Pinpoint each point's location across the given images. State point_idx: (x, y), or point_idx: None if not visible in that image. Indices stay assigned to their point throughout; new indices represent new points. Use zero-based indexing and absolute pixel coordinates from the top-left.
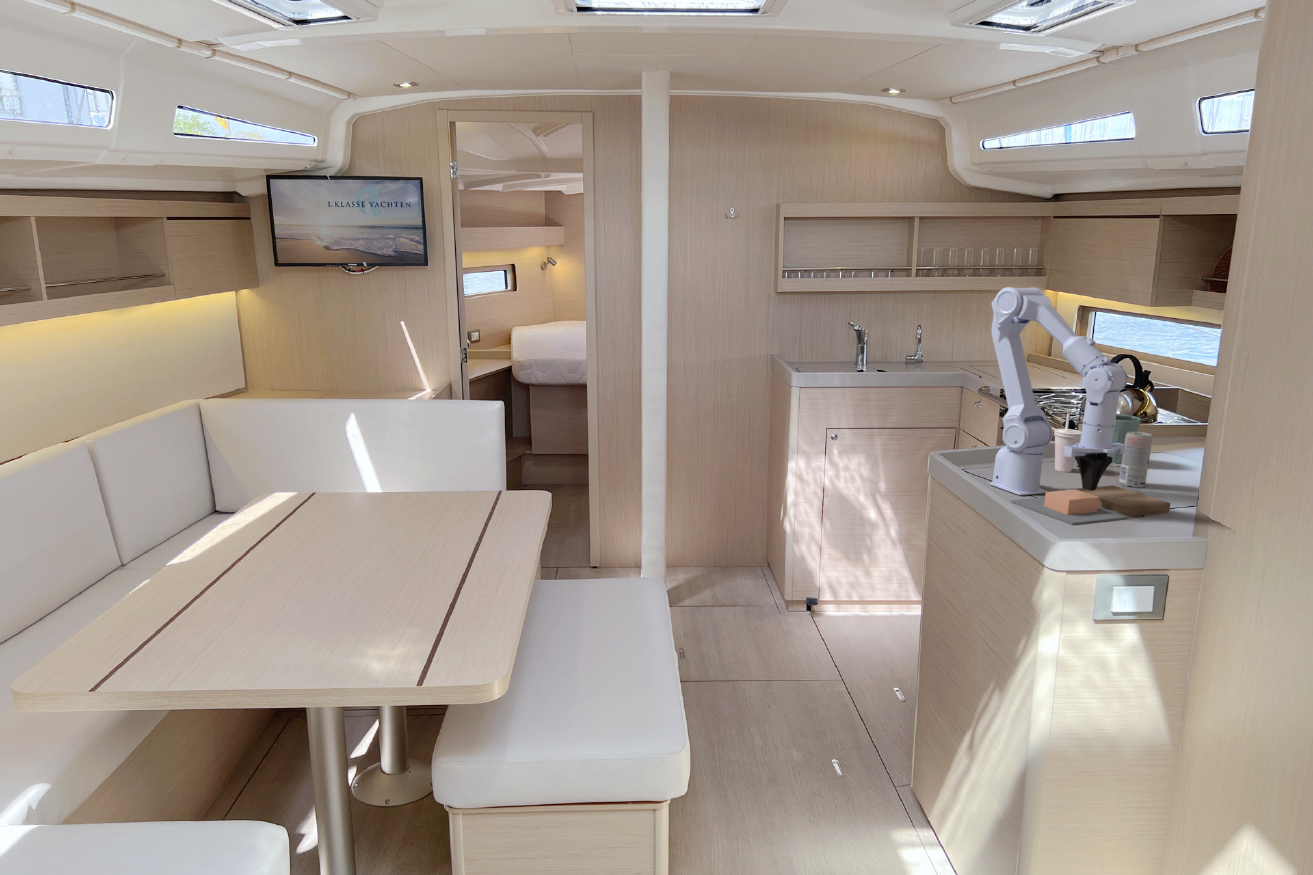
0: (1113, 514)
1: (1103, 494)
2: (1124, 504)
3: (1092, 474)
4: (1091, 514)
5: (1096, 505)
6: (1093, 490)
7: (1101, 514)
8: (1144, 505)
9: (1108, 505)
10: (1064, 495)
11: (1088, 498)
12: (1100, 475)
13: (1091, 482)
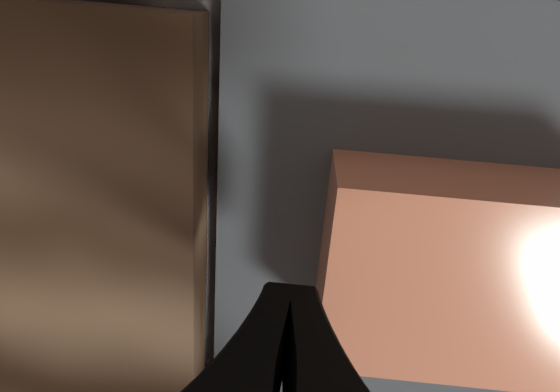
0: (286, 59)
1: (91, 295)
2: (147, 84)
3: (363, 382)
4: (438, 116)
5: (350, 164)
6: (282, 283)
7: (373, 89)
8: (2, 2)
9: (200, 170)
10: (556, 308)
11: (457, 196)
12: (246, 353)
13: (330, 328)
